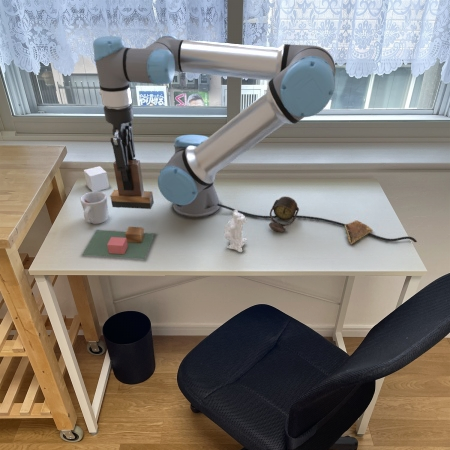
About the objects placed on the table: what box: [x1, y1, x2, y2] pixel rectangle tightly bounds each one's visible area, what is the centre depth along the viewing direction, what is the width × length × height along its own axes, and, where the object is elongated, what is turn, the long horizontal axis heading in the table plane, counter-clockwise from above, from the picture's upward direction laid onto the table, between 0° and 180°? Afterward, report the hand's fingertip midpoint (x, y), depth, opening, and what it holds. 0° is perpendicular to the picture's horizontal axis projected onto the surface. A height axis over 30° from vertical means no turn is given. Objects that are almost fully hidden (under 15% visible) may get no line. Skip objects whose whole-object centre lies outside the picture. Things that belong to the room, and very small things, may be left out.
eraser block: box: [107, 237, 128, 254], centre depth 126 cm, size 4×4×3 cm
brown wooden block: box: [110, 159, 155, 210], centre depth 131 cm, size 12×4×14 cm, turn 84°
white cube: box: [83, 165, 110, 192], centre depth 155 cm, size 6×6×6 cm
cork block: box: [125, 226, 145, 243], centre depth 130 cm, size 4×4×3 cm
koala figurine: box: [223, 209, 248, 253], centre depth 125 cm, size 8×7×12 cm
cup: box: [79, 191, 109, 225], centre depth 136 cm, size 11×8×8 cm
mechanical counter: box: [268, 196, 300, 233], centre depth 137 cm, size 7×13×10 cm
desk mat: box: [82, 229, 156, 260], centre depth 129 cm, size 18×13×1 cm
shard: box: [344, 220, 373, 245], centre depth 134 cm, size 11×8×2 cm
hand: (130, 186), depth 131 cm, fingers closed on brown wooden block, 3 cm apart
